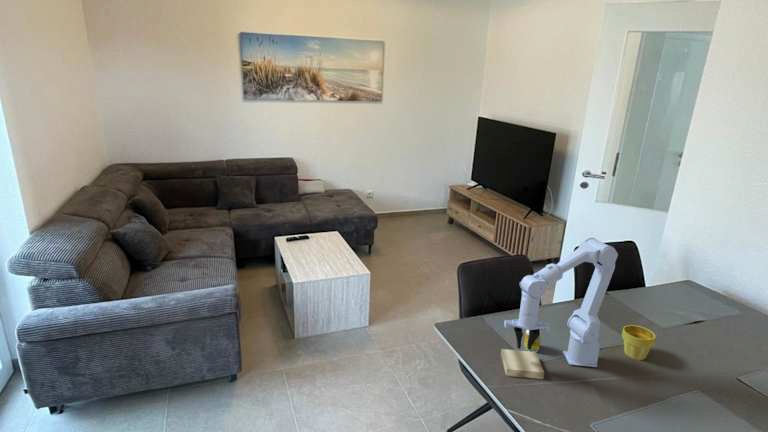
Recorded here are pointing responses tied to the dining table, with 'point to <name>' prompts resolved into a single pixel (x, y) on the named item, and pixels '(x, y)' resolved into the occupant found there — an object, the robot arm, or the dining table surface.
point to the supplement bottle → (535, 345)
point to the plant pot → (637, 341)
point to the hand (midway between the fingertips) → (523, 347)
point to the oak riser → (522, 364)
